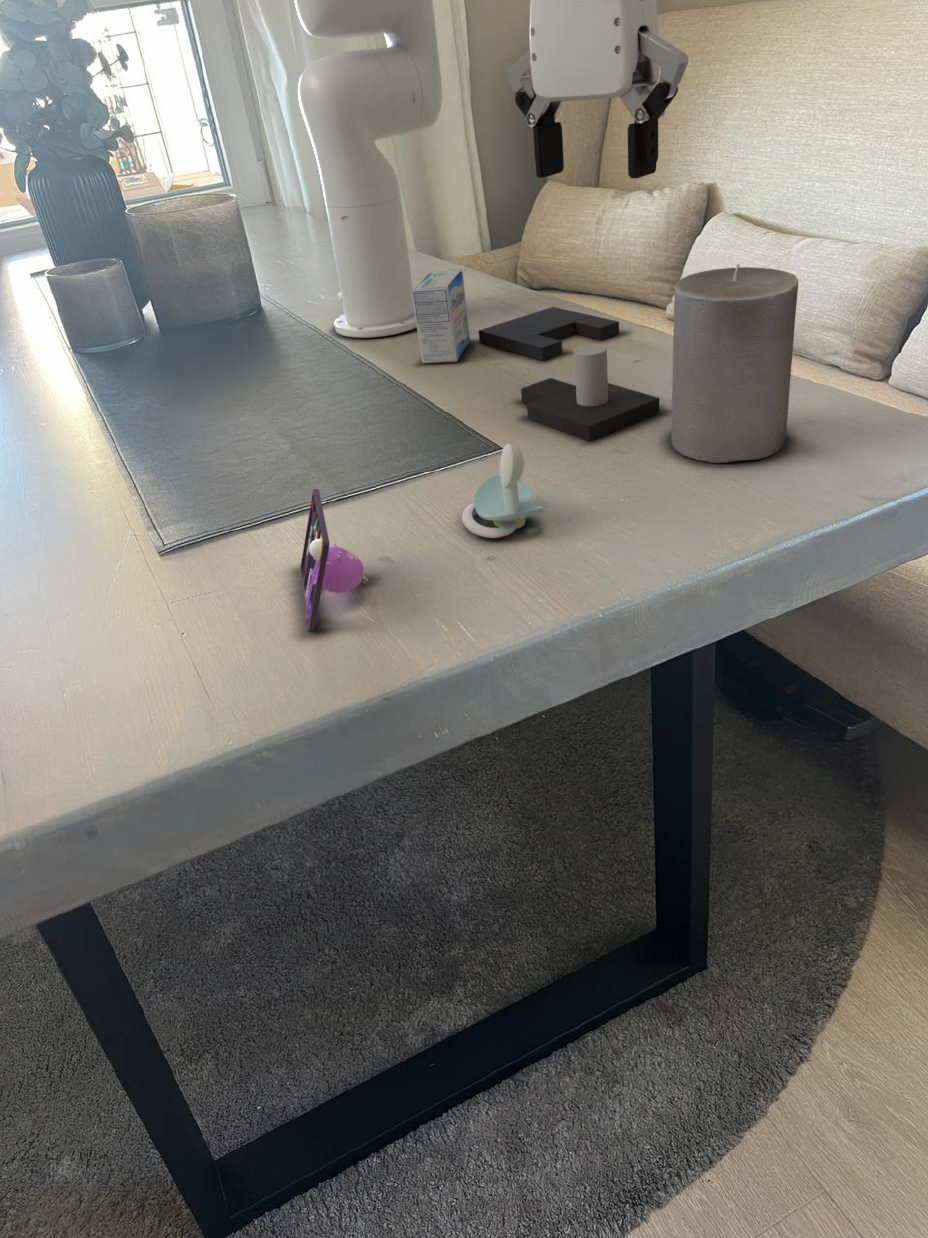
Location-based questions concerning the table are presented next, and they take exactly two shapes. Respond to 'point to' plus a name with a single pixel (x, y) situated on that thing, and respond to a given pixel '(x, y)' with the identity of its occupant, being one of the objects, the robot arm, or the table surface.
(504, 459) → the pacifier
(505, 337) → the big pad
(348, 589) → the purple panel with bulb
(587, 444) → the table surface
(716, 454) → the pillar candle
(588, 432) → the small pad
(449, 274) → the medicine box
